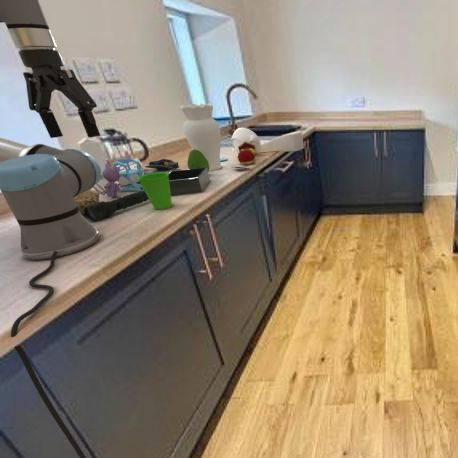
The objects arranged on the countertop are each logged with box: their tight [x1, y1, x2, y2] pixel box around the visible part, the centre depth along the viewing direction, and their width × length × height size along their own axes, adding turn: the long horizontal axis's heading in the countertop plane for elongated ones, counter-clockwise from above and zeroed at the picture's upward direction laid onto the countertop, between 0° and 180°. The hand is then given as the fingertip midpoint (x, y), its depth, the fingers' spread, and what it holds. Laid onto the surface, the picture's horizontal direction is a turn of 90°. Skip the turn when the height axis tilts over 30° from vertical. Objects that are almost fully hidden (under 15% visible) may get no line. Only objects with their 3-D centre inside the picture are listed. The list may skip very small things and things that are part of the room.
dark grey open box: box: [168, 167, 211, 197], centre depth 139 cm, size 18×14×6 cm
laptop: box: [230, 165, 251, 170], centre depth 163 cm, size 7×6×2 cm
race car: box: [144, 158, 180, 169], centre depth 159 cm, size 15×7×4 cm, turn 174°
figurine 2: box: [237, 141, 258, 166], centre depth 176 cm, size 9×10×15 cm
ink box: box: [117, 157, 145, 187], centre depth 148 cm, size 8×5×12 cm
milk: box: [76, 133, 116, 193], centre depth 137 cm, size 6×6×22 cm
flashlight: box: [83, 189, 150, 222], centre depth 117 cm, size 5×21×5 cm, turn 162°
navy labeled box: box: [144, 168, 182, 175], centre depth 156 cm, size 18×3×10 cm
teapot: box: [230, 127, 261, 154], centre depth 188 cm, size 25×16×12 cm
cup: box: [137, 172, 173, 211], centre depth 117 cm, size 9×9×11 cm
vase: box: [178, 102, 222, 172], centre depth 162 cm, size 15×15×29 cm
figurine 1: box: [102, 163, 121, 198], centre depth 131 cm, size 5×7×12 cm
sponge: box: [74, 188, 101, 215], centre depth 117 cm, size 13×8×20 cm
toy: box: [220, 157, 228, 162], centre depth 184 cm, size 14×1×10 cm
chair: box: [112, 158, 143, 192], centre depth 138 cm, size 8×8×12 cm
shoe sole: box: [257, 130, 305, 154], centre depth 202 cm, size 36×13×10 cm, turn 87°
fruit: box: [187, 149, 209, 172], centre depth 153 cm, size 8×8×12 cm
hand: (75, 136), depth 96 cm, fingers open, 13 cm apart
